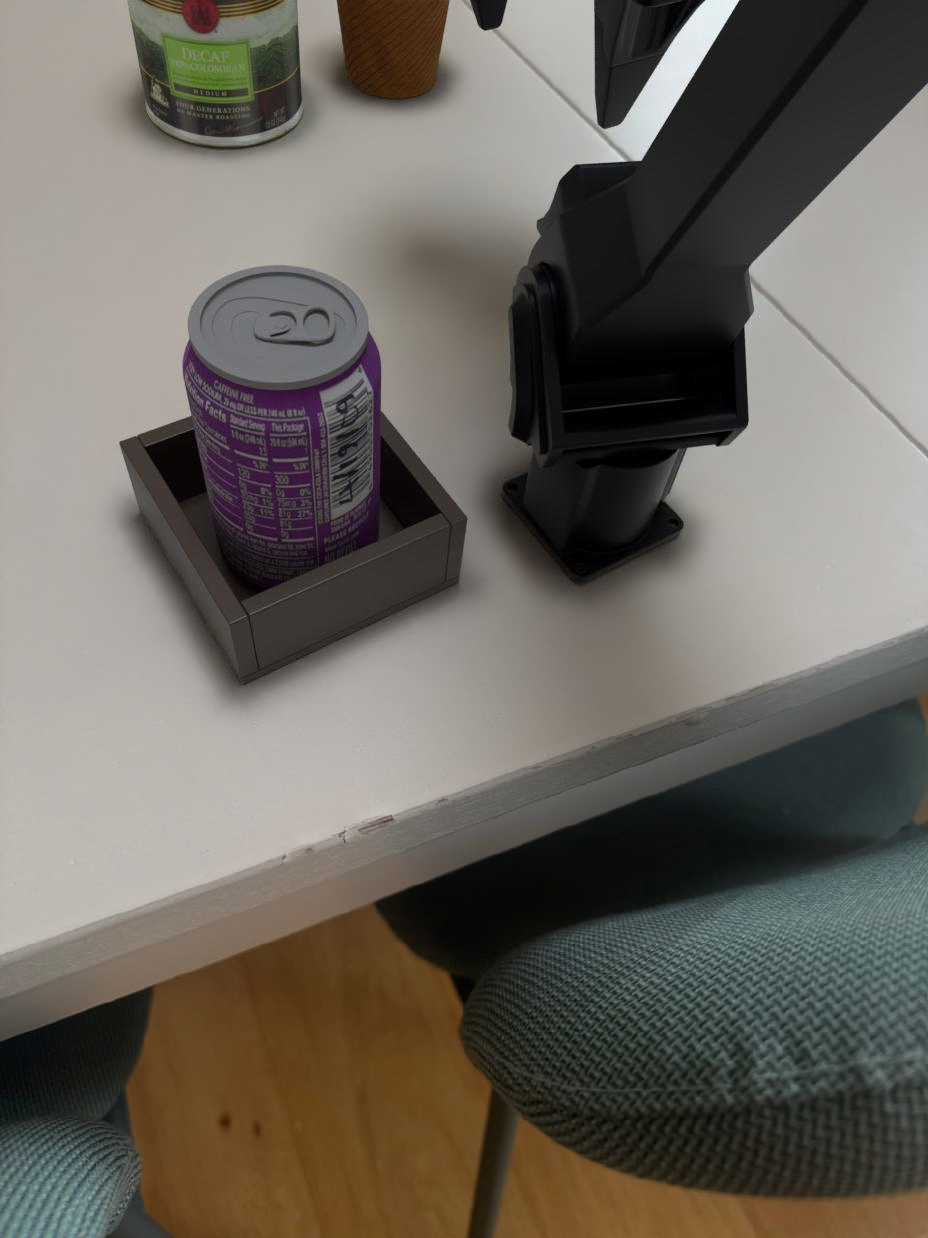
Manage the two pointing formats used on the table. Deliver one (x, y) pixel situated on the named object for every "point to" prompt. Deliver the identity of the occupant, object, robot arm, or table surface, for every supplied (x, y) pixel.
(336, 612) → the open box
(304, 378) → the beverage can
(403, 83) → the disposable coffee cup
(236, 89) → the coffee can
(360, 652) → the table surface
